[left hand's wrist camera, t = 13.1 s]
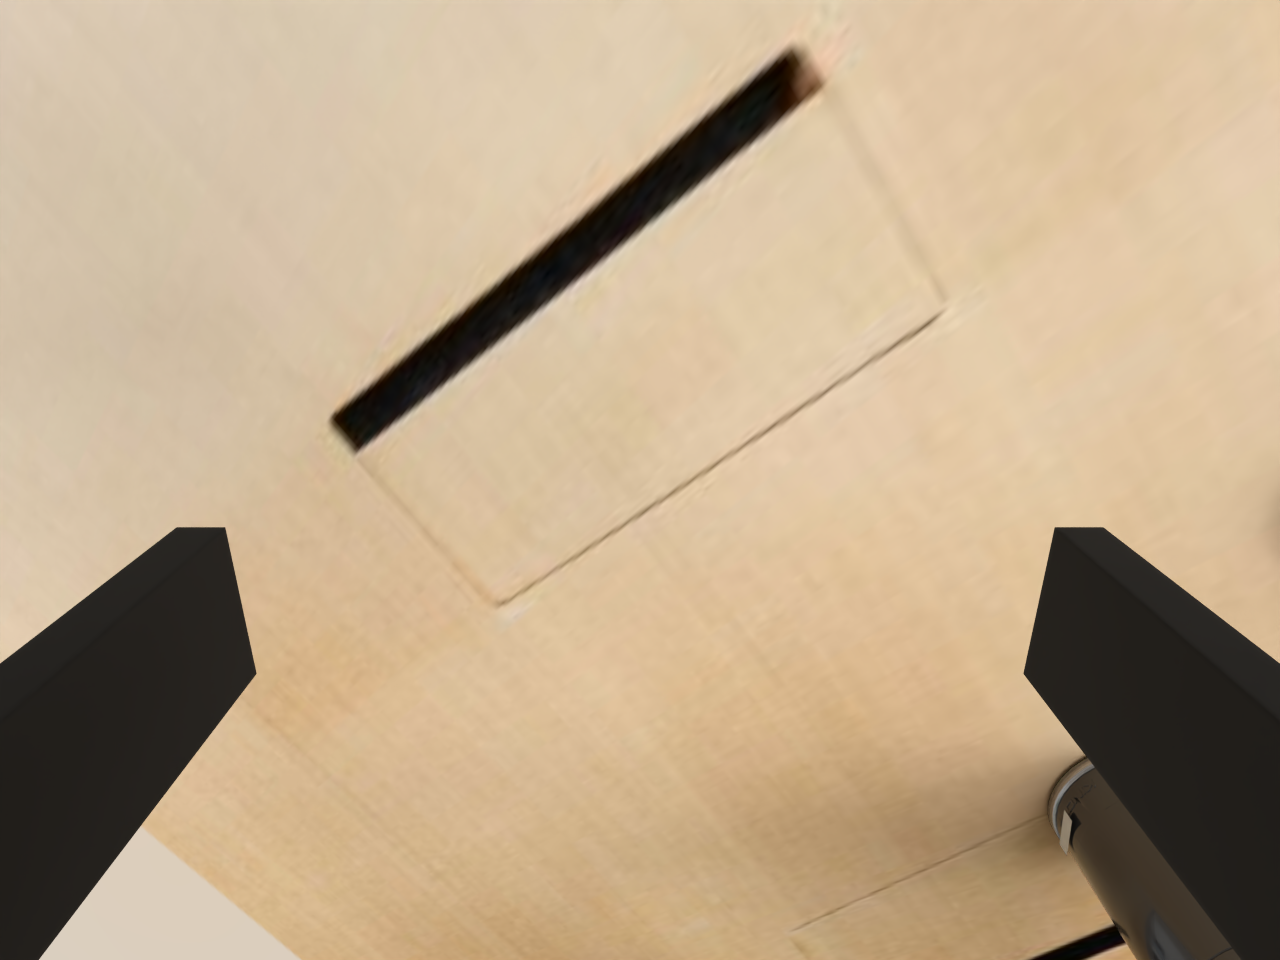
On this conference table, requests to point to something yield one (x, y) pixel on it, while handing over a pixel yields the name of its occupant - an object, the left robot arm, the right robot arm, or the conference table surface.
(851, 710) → the conference table surface
